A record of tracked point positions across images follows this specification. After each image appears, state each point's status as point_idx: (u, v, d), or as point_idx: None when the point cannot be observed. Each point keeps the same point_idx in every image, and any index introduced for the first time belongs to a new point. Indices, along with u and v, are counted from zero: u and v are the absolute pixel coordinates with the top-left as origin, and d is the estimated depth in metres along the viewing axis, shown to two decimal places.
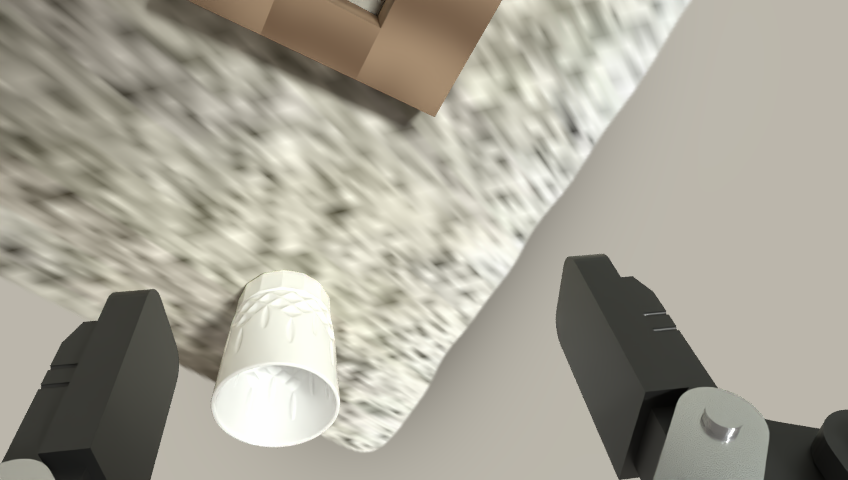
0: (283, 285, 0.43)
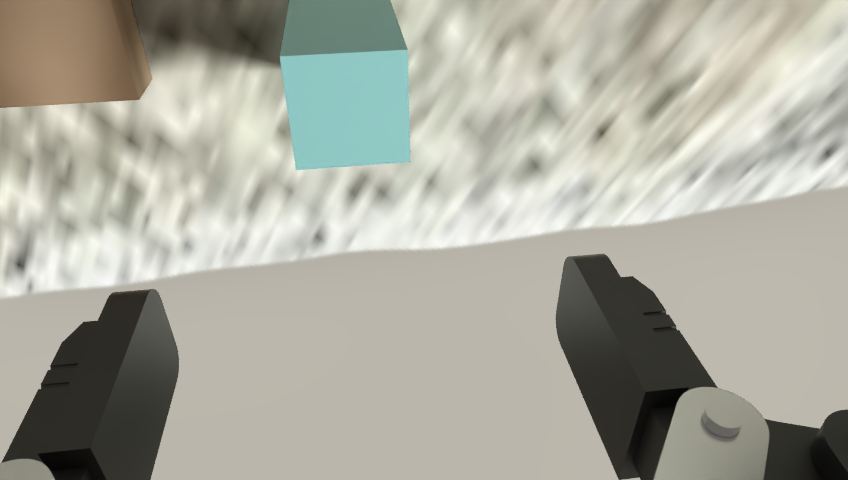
0: None
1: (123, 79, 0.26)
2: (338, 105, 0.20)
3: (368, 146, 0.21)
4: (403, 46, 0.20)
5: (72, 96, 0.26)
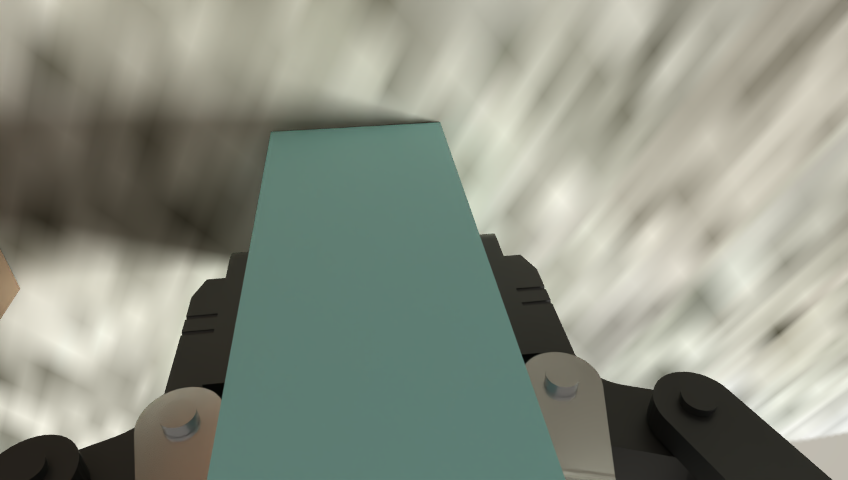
0: None
1: None
2: None
3: None
4: None
5: None
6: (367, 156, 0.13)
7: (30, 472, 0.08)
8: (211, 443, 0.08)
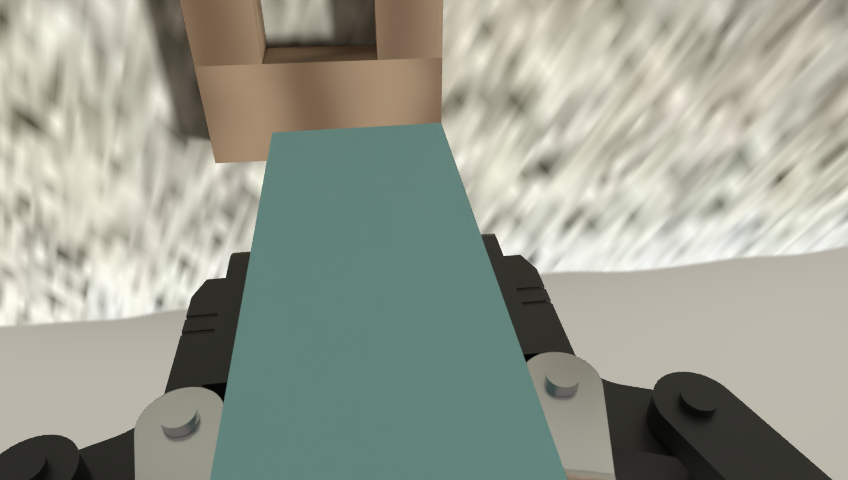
0: None
1: None
2: None
3: None
4: None
5: None
6: (368, 157, 0.13)
7: (30, 472, 0.08)
8: (211, 443, 0.08)
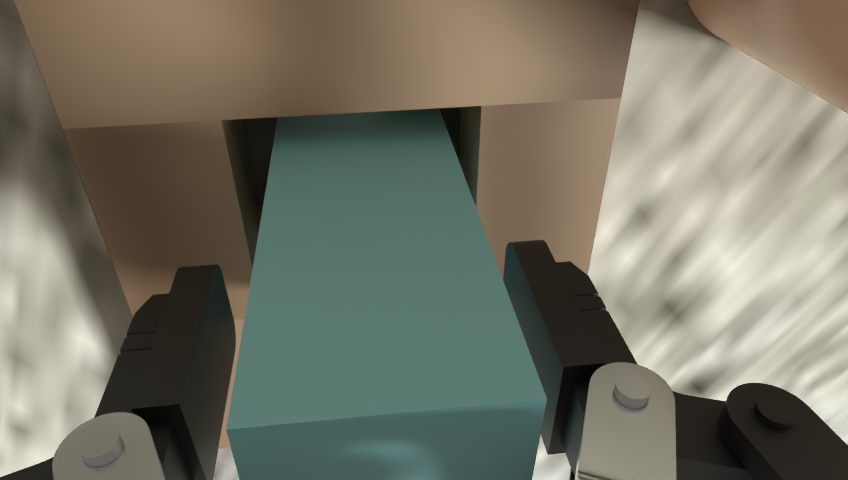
0: None
1: None
2: None
3: None
4: (532, 380, 0.08)
5: None
6: (369, 126, 0.14)
7: None
8: (131, 473, 0.08)
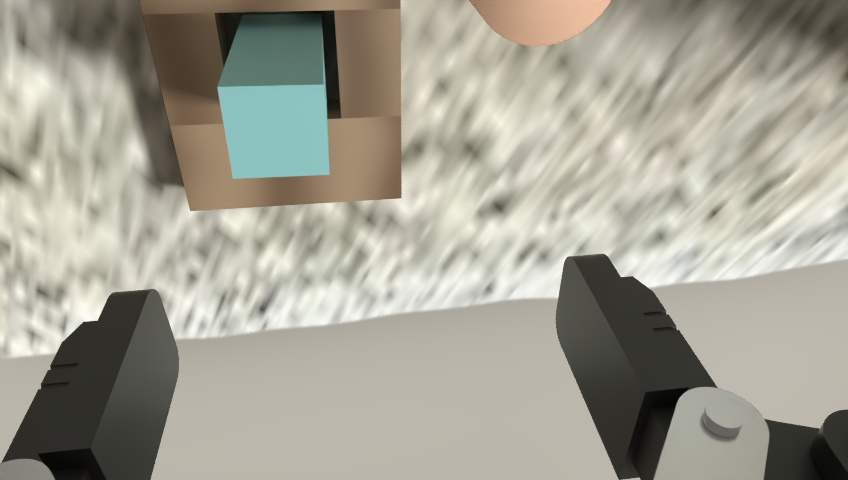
0: None
1: (394, 184, 0.35)
2: (267, 127, 0.24)
3: (293, 161, 0.25)
4: (321, 81, 0.24)
5: (356, 196, 0.36)
6: (284, 22, 0.30)
7: None
8: None
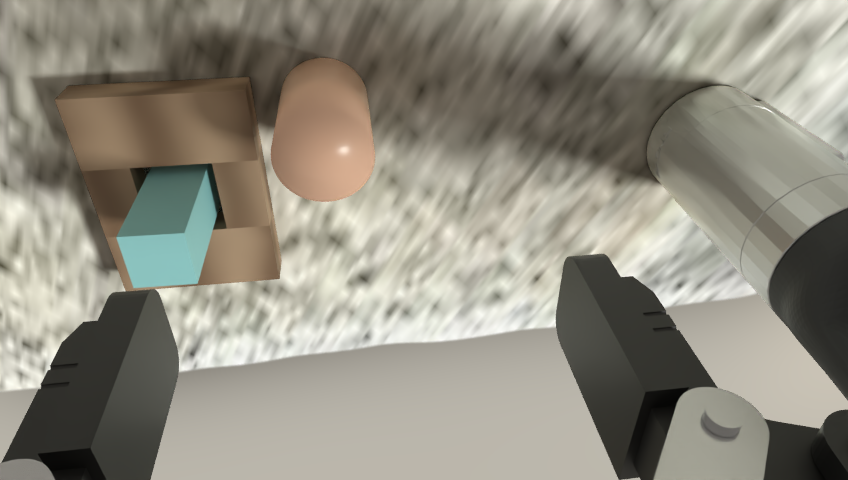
0: None
1: (272, 270, 0.49)
2: (151, 258, 0.38)
3: (172, 276, 0.39)
4: (183, 230, 0.38)
5: (245, 278, 0.49)
6: (180, 168, 0.44)
7: None
8: None
